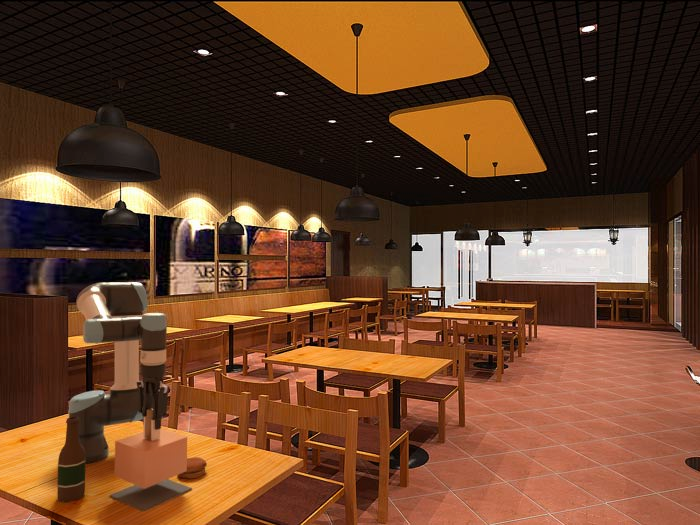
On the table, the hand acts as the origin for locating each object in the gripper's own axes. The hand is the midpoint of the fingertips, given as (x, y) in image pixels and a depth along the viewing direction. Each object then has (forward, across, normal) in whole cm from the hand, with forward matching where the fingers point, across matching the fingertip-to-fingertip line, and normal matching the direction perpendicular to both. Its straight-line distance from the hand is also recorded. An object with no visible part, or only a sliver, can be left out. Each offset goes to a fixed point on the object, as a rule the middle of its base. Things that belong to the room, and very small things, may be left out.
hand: (151, 437), depth 153 cm
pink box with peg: (+11, 0, 0) cm, 11 cm away
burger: (+18, -1, +16) cm, 24 cm away
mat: (+17, +1, 0) cm, 17 cm away
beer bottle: (+17, -17, -15) cm, 29 cm away
